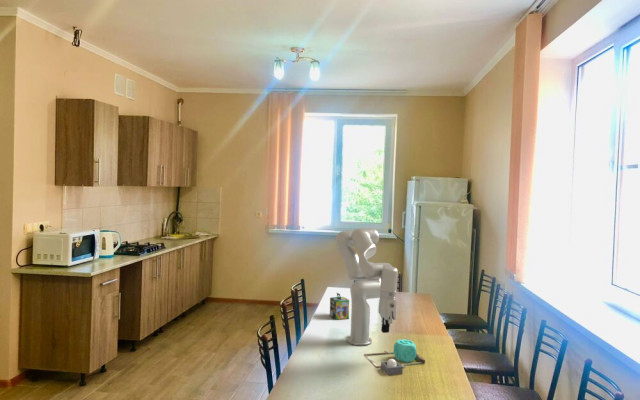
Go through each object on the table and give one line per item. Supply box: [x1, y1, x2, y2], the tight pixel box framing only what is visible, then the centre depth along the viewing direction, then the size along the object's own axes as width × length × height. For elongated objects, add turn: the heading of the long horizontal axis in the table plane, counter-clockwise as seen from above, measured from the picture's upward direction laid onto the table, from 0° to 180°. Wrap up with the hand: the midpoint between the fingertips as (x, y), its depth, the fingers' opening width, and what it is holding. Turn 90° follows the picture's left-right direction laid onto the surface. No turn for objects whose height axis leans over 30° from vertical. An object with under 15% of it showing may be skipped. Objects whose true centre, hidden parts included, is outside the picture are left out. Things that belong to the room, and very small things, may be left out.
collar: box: [380, 359, 404, 376], centre depth 194 cm, size 7×7×3 cm
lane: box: [363, 349, 426, 369], centre depth 207 cm, size 20×24×2 cm
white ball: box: [387, 358, 397, 367], centre depth 194 cm, size 4×4×4 cm
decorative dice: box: [393, 338, 418, 363], centre depth 208 cm, size 8×8×8 cm
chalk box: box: [329, 292, 350, 321], centre depth 269 cm, size 9×9×15 cm
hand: (385, 331), depth 207 cm, fingers closed
